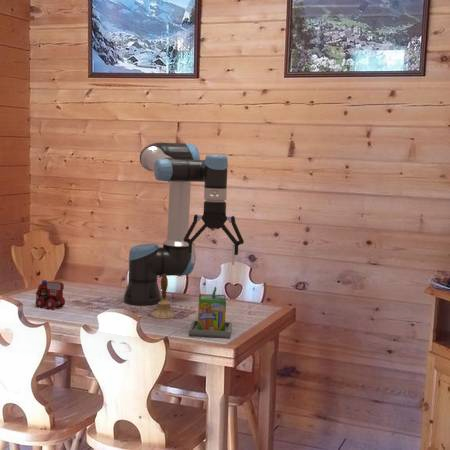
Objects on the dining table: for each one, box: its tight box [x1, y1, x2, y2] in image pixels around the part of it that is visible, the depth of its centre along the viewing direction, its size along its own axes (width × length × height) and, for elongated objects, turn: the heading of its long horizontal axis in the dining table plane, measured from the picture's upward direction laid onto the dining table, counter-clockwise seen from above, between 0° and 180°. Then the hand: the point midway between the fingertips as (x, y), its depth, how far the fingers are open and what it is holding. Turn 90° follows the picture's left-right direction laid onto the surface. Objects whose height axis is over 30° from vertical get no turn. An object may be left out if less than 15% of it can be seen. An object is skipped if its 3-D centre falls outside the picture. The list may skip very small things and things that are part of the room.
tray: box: [188, 320, 233, 339], centre depth 233 cm, size 14×14×2 cm
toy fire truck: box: [35, 279, 66, 310], centre depth 263 cm, size 7×12×10 cm, turn 64°
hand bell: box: [152, 274, 175, 320], centre depth 253 cm, size 8×8×16 cm
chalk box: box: [197, 286, 227, 331], centre depth 233 cm, size 9×9×15 cm
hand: (212, 263), depth 231 cm, fingers open, 13 cm apart
